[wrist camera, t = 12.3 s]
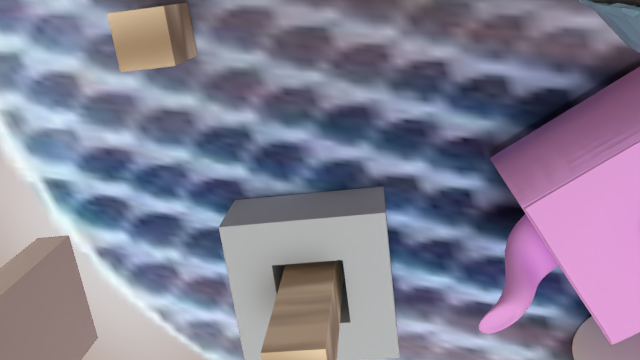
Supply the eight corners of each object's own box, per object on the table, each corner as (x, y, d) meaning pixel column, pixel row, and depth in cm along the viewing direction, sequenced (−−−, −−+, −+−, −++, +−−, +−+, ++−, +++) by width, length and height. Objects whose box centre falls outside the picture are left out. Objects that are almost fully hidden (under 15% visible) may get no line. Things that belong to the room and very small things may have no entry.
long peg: (292, 241, 45) (260, 353, 32) (338, 237, 45) (325, 349, 31) (298, 282, 46) (270, 407, 33) (343, 279, 46) (333, 403, 32)
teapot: (683, 29, 38) (826, 54, 26) (749, 155, 40) (908, 231, 28) (416, 193, 43) (434, 276, 31) (488, 297, 45) (531, 411, 33)
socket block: (234, 200, 44) (218, 227, 39) (383, 186, 43) (385, 212, 38) (258, 328, 48) (246, 367, 43) (396, 318, 46) (399, 357, 42)
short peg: (137, 8, 40) (107, 13, 35) (187, 2, 40) (163, 6, 35) (148, 60, 41) (120, 72, 37) (197, 55, 41) (175, 65, 36)
